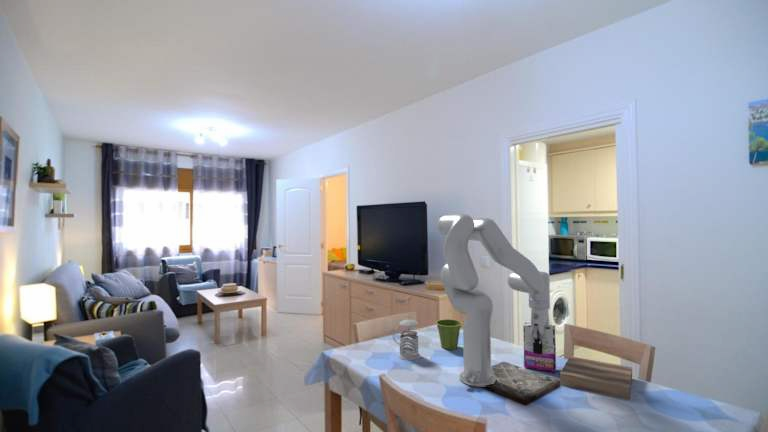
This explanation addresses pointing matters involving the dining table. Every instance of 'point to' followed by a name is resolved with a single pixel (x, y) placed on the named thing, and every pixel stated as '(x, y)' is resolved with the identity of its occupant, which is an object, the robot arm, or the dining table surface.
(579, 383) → the walnut stand
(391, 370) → the dining table surface
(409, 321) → the french press
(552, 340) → the candy bar box
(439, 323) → the plant pot
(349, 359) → the dining table surface
